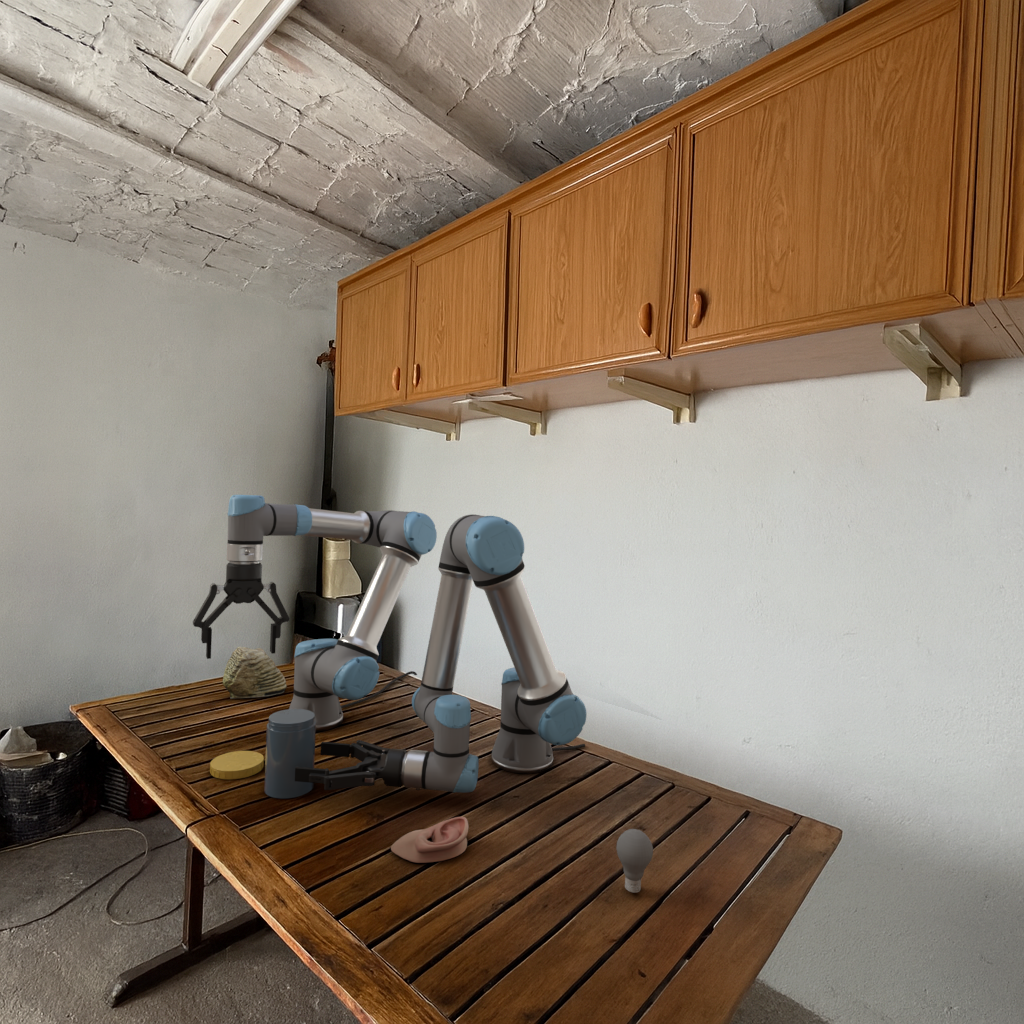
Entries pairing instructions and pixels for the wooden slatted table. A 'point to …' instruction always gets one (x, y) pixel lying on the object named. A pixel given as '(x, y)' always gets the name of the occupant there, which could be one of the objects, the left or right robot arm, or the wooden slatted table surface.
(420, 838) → the anatomical model
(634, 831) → the light bulb
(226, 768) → the lid
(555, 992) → the wooden slatted table surface
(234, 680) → the fossil
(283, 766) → the jar
